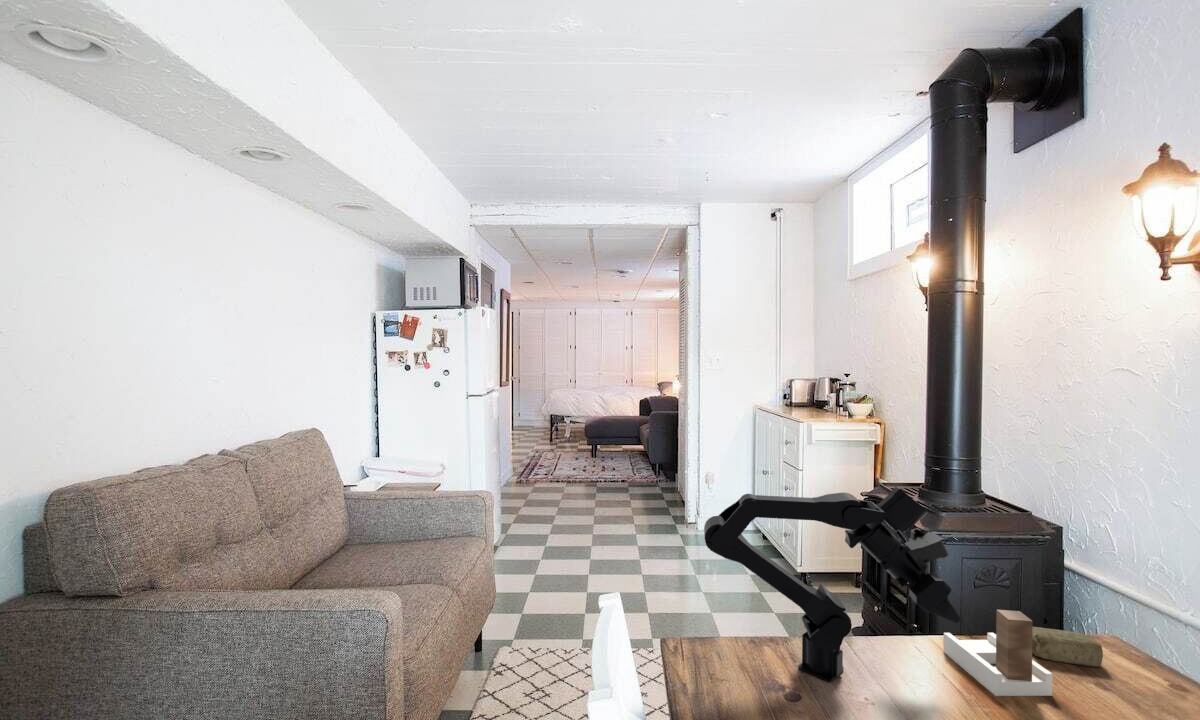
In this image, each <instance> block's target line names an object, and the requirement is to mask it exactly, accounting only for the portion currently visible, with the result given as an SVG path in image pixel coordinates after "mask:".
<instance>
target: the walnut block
mask: <svg viewBox="0 0 1200 720" xmlns="http://www.w3.org/2000/svg"><path fill="white" fill-rule="evenodd" d="M995 626H996V630H995V631H996V632H995V634H996V668H997V669H998V670H999V671H1000V672H1001V673H1002V674H1003V675H1004V676H1005V677H1006V678H1007V679H1010V680H1021V681H1032V660H1033V653H1032V634H1033V620H1032V619H1031V618H1030V617H1028V616H1027V615H1026V614H1024V613H1023V612H1021V610H1007V609H996V623H995Z"/></svg>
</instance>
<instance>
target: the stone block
mask: <svg viewBox="0 0 1200 720" xmlns="http://www.w3.org/2000/svg"><path fill="white" fill-rule="evenodd" d="M1032 654H1034V656H1035V657H1038V658H1041V659H1043V660H1048V661H1052V662H1060V663H1064V664H1073V665H1079V666H1085V667H1093V668H1094V667H1101V665H1102V663H1103V657H1104V656H1103V655H1104V651H1103V646H1102V645H1101V643H1099V641H1097V640H1096V639H1095V638H1093V636H1091V635H1088V634H1084V633H1082V632H1075V631H1074V632H1073V631H1070V630H1069V631H1068V630H1062V629H1057V628H1056V629H1055V628H1046V627H1045V628H1044V627H1041V626H1040V627H1039V626H1038V627H1037V626H1033V634H1032Z"/></svg>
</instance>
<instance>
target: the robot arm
mask: <svg viewBox="0 0 1200 720" xmlns="http://www.w3.org/2000/svg"><path fill="white" fill-rule="evenodd" d="M927 514H928V511H927V510H926V509H925V508H924V507H923V506H922V505H921V504H920V503H919V502H918V501H916V500H915V499H913V498H912V497H911V496H910V495H908V494H907V492H905V491H904V490H903V489H901V488H900V487H898V486H895V487H893V489H891V491H890V492H889V494H888V495H886V496H885V497H884V498H882V500H881V501H880V502H879V503H877V504H875V502H873V501H868V500H863V499H857V497H856V496H854V495H853V494H851V493H850V492H836V493H828V494H823V495H820V496H817V497H815V496H814V497H804V496H803V497H800V496H798V497H797V496H779V495H778V496H777V495H776V496H775V495H763V494H762V495H761V494H752V493H745V494H743V495H741V496H740V498H739V499H737V500H736V502H734V503H732V504H731V505H730V506H728V507H726V508H725V509H724V510H722V511H721V512H720V513H719V514H718V515H715V516H711V517H708V519H707V520H706V521H705V523H704V527H703V533H704V541H705V545H706V547H707V548H708V549H709V550H710V552H712V553H714V554H716V555H718V556H721V557H722V558H724V559H727V560H729V561H732V562H736V563H739V564H741V565H742V566H744V567H745V568H746V569H748V570H749V571H750V572H752V573H753V574H754V575H756V576H758V578H760V579H762V581H764V582H766V583H767V584H768V585H770V586H771V587H772V588H773V589H775V590H776V591H778V592H779V593H780V594H782V595H783V596H785V598H787V599H789V600H790V601H791V602H792V603H794V604H795V605H797V606H798V607H799V608H800V609H801V610H802V611H803V612H804V614H803V615H802V616H801V620H802V623H803V626H804V629H806V631H805V632H804V633H803V634H802V635H801V637H802V638H801V640H802V643H801V646H802V647H801V649H802V650H801V662H800V663H799V664H798V665H797V669H798V670H800V671H803V672H805V673H807V674H810V675H811V676H813V677H816V678H819V679H821V680H824V681H826V682H827V683H829V682H832V681H833V680H834V679H835V678H836V677H838V676H839V675H840V674H841V673H842V672H843V671H844V669H845V668H844V666H843V664H844V663H843V662H844V659H843V657H844V656H843V655H844V654H843V650H842V649H841V645H842V643H843V641H844V639H845V637H847V636H848V635H850V633H851V630H852V619H851V617H850V616H849V613H847V612H848V611H847V609H846V607H845V605H844V604H843V602H842V600H841V599H840V597H839V596H838V595H839V594H837V593H833V592H831V591H830V590H828V588H827V587H825V586H824V585H823V584H822V583H819V585H818V588H815V587H811V586H809V585H807V584H806V583H804V582H803V581H801V580H800V579H799V578H797V577H796V576H795V575H794V574H792V573H791V572H789V571H787V570H786V569H785V568H784V567H782V566H781V565H780V564H778V563H777V562H775V561H774V560H773V559H772V558H770V557H769V556H768V555H766V554H764V553H763V552H762V551H761V550H759V549H758V548H756V547H755V546H753V545H752V544H751V543H750V542H749V541H748V540H747V539H746V538H745V536H744V535H743V533H744V531H745V530H746V528H748V526H749V525H750V524H751V522H752V521H754V520H755V519H756V518H761V519H762V518H764V519H780V520H781V519H782V520H800V521H801V520H802V521H815V522H819V523H824V524H827V525H829V526H832V527H837V528H841V529H845V530H844V533H845V538H844V542H845V543H846V544H847V546H848V547H849V548H850V549H853V548H855V547H856V546H857V545H858V544H859V545H861V546H862V548H864V549H865V550H866V551H867V552H868V553H869V555H871V557H873V559H875V560H876V561H877V563H879V565H880V566H881V567H883V569H884V570H885V571H886V572H887V573H888V574H889V575H890V576H891V577H892V578H893V579H894V580H896V582H897V583H898V584H899V585H900V586H901V587H907V588H908V590H909V591H908V592H909V594H908V595H909V598H911V600H912V601H913V602H914V603H915V604H916V605H917V606H918V607H919V608H920V609H921V610H922V611H923V612H925V613H930V614H931V613H932V614H933V615H935V616H939V617H941V618H943V619H946V620H948V621H951V622H953V623H955V624H958V623H959V622H961V620H962V618H961V617H960V615H959V614H958V612H957V611H956V609H955V608H954V606H953V603H951V601H950V600H949V595H950V594H951V592H952V588H951V587H950V586H949V584H947V583H946V581H944V580H943V579H942V578H941V577H940V576H939V575H938V574H936V573H934V572H933V573H931V572H929V573H928V572H927V573H925V572H924V571H925V570H926V569H928V568H929V565H927V564H926V563H930V562H933V561H936V560H938V559H945V558H947V557H948V556H949V553H948V550H947V547H946V546H945V543H944V541H943V540H942V538H941V536H938V534H936V533H934V532H930V531H926V533H925V532H924V531H923V530H921V529H920V528H918V527H916V528H913V529H912V527H913V526H915V525H916V524H917V523H918V522H919V521H920V520H922V519H923V518H924V517H925V516H926V515H927ZM883 522H885V523H886V525H887V526H888V527H890V528H891V529H892V530H893V531H894V532H895V533H897V532H901V534H903V533H906V532H908V531H909V530H910V537H909V538H908V541H907V542H904V541H903V540H902V539H900V538H897V537H896V535H894V533H893V532H891V531H890V530H889V529H888V528H887V527H886V526H885V525H884V524H883Z"/></svg>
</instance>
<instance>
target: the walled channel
mask: <svg viewBox="0 0 1200 720" xmlns="http://www.w3.org/2000/svg"><path fill="white" fill-rule="evenodd" d="M986 637H987V639H959V638H957V637H956V636H954V635H953V634H952V633H951V632H943V643H942V644H943V648H942V649H943V650H942V651H943V653H944V654H945V655H947V656H948V657H949V658H950V659H951V660H952V661H953V662H955V663H956V664H957V665H958V666H960V668H961V669H963V670H964V671H965V672H967V673H968V674H969V675H970V676H972V678H973V679H975V680H976V681H977V682H979V684H981V685H982V686H983V687H985V689H986V690H988V691H989V692H990V693H992V694H993V696H995V697H1012V696H1013V697H1031V696H1032V697H1034V696H1035V697H1036V696H1037V697H1041V696H1042V697H1043V696H1044V697H1048V696H1050V697H1051V696H1053V672H1051V671H1049V670H1048V669H1046V668H1045V667H1044V666H1042V665H1041V664H1039V663H1037V662H1036V661H1035V660H1033V659H1032V681H1021V680H1010V679H1007V678H1006V677H1005V676H1004V675H1003V674H1002V673H1001V672H1000V671H999V670H998V669H997V668H996V633H994V632H987V634H986Z"/></svg>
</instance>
